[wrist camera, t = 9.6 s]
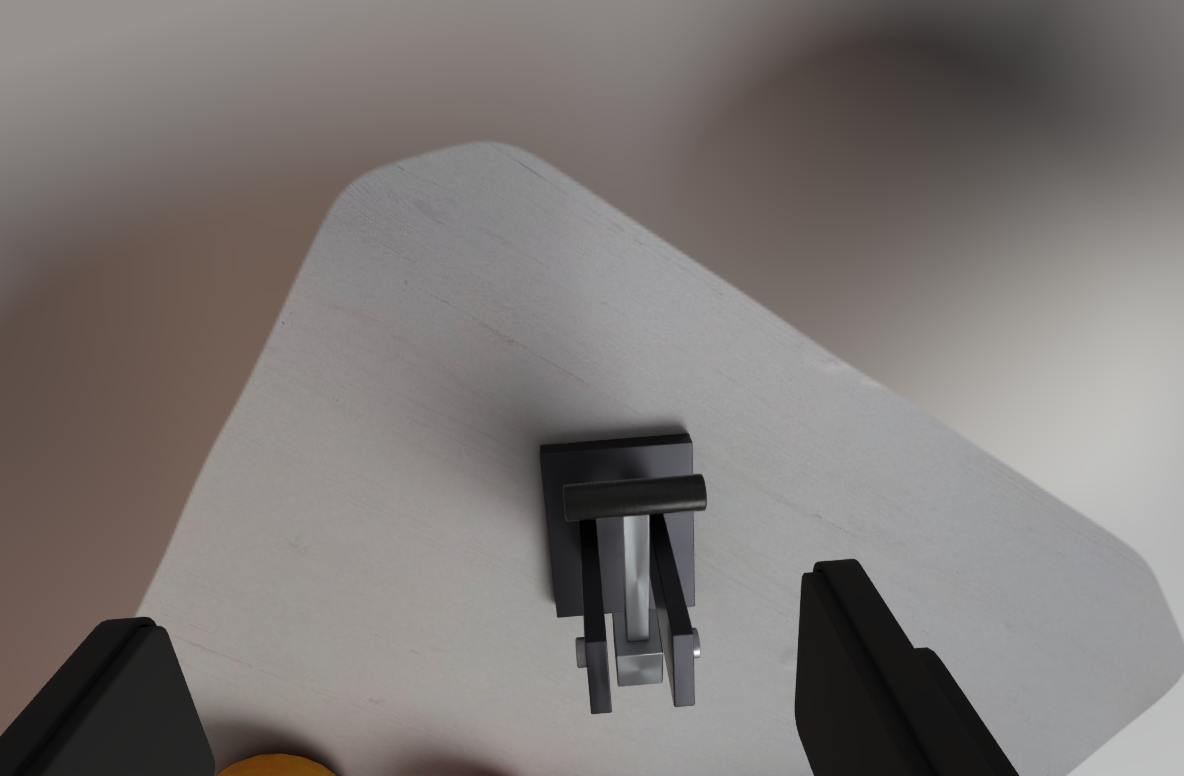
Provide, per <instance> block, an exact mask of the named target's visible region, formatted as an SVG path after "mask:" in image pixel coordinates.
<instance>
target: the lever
mask: <svg viewBox="0 0 1184 776" xmlns="http://www.w3.org/2000/svg"><path fill="white" fill-rule="evenodd" d="M563 495H564V509H565V518H566V521H581V520H593V519H606V518H618V517H620V518H621V543H622V567H623V592H624V612H613V613H612V617H613V634H614V648H615V659H616V670H617V681H618V686H631V685H643V684H655V683H662V681H663V648H662V642H661V635H660V628H659V621H658V615H657V610H656V609H650V553H649V515H655V514H667V513H680V512H692V511H704V510H705V509H706V506H707V494H706V486H705V481H704V478H703V476H702V474H691V475H679V476H666V477H654V478H641V479H629V480H616V481H604V482H591V483H579V484H566V485H564V487H563Z"/></svg>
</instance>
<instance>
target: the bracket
mask: <svg viewBox="0 0 1184 776" xmlns="http://www.w3.org/2000/svg"><path fill="white" fill-rule="evenodd" d="M540 461H541V471H542V480H543V489H544V499H545V508H546V517H547V527H548V536H549V545H550V555H551V564H552V573H553V583H554V592H555V601H556V611H557V617H558V618H559V617H571V616H583V615H584V636H585V637H578V638H576V658H577V667H578V668H583V667H587V673H588V684H589V695H590V706H591V714H600V713H611V712H612V706H611V693H610V680H609V666H608V653H607V640H606V628H605V617H604V614H607V613H613V612H624V592H623V567H622V543H621V518H620V517H618V518H606V519H593V520H581V521H566V518H565V509H564V495H563V487H564V485H566V484H579V483H591V482H604V481H616V480H629V479H641V478H654V477H666V476H679V475H691V474H693V452H692V440H691V438H690V435H689V434H677V435H664V436H651V437H639V438H626V439H613V440H601V441H588V442H576V443H563V444H550V445H541V446H540ZM649 553H650V609H656V610H657V615H658V621H659V628H660V634H661V639H662V644H663V650H664V655H665V660H666V666H667V671H668V676H669V682H670V687H671V692H672V698H673V703H674V706H675V707H681V706H693V705H694V704H695V695H694V658H699V657H700V641H699V635H698V631H697V629H696V628H692V626H691V622H690V618H689V614H688V610H687V607H692V606H695V583H694V518H693V511H692V512H680V513H667V514H655V515H649Z"/></svg>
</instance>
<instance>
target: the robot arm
mask: <svg viewBox="0 0 1184 776" xmlns="http://www.w3.org/2000/svg"><path fill="white" fill-rule="evenodd" d="M795 720H796V726H797V730H798V733H799V736H800V739H801V742H802V745H803V747H804V750H805V753H806V755H807V758H808V761H809V763H810V766H811V769H812V771H813V774H814V776H1019V775H1018V773H1017V772H1016V770H1015V769H1014V767H1013V766H1012V764H1011V763H1010V761H1009V760H1008V758H1007V757H1006V755H1005V754H1004V752H1003V751H1002V749H1001V748H1000V746H999V745H998V743H997V742H996V740H995V739H994V738H993V736H992V735H991V733H990V732H989V730H988V729H987V727H986V726H985V724H984V723H983V721H982V720H981V718H980V717H979V715H978V714H977V712H976V711H975V709H974V708H973V706H972V705H971V703H970V702H969V701H968V699H967V698H966V696H965V695H964V693H963V692H962V690H961V689H960V687H959V686H958V684H957V683H956V681H955V680H954V678H953V677H952V675H951V674H950V672H949V671H948V669H947V668H946V666H945V665H944V664H943V662H942V661H941V659H940V658H939V657H938V656H937V655H936V653H935V652H934V651H932V650H931V649H929V648H927V647H926V648H914V647H913V645H912V644H911V642H910V641H909V639H908V638H907V636H906V635H905V633H904V631H903V630H902V628H901V627H900V625H899V624H898V622H897V621H896V619H895V617H894V616H893V614H892V613H891V611H890V610H889V608H888V607H887V605H886V603H885V602H884V600H883V599H882V597H881V596H880V594H879V592H878V591H877V589H876V588H875V586H874V585H873V583H872V582H871V580H870V578H869V577H868V575H867V574H866V572H865V571H864V569H863V568H862V566H861V564H860V563H859V562H858V561H857V560H855V559H845V560H833V561H821V562H816V563H815V565H814V568H813V572H810V573H804V574H803V576H802V581H801V599H800V618H799V636H798V654H797V673H796V691H795ZM214 770H215V761H214V757H213V754H212V751H211V748H210V746H209V743H208V740H207V738H206V735H205V732H204V730H203V727H202V724H201V721H200V719H199V716H198V713H197V711H196V708H195V705H194V703H193V700H192V697H191V694H190V692H189V689H188V686H187V684H186V681H185V678H184V676H183V673H182V670H181V667H180V665H179V662H178V659H177V657H176V654H175V651H174V649H173V646H172V643H171V640H170V638H169V635H168V633H167V631H166V629H165V628H163V627H162V626H157V625H156V623H155V621H153V620H152V619H151V618H149V617H136V618H124V619H112V620H106V621H103V622H101V623H100V624H99V625H98V626H96V627H95V628H94V630H93V631H92V632H91V633H90V634H89V635H88V637H87V638H86V639H85V640H84V641H83V642H82V643H81V644H80V646H79V647H78V648H77V649H76V650H75V651H74V653H73V654H72V655H71V656H70V657H69V659H67V661H66V662H65V663H64V664H63V665H62V666H61V667H60V669H59V670H58V671H57V672H56V673H55V674H54V675H53V677H52V678H51V679H50V680H49V681H48V682H47V683H46V685H45V686H44V687H43V688H42V689H41V690H40V691H39V693H38V694H37V695H36V696H35V697H34V698H33V700H32V701H31V702H30V703H29V704H28V705H27V707H26V708H25V709H24V710H23V711H22V712H21V713H20V714H19V716H18V717H17V718H16V719H15V720H14V721H13V722H12V724H11V725H10V726H9V727H8V728H7V729H6V731H5V732H4V733H3V734H2V735H1V736H0V776H214Z"/></svg>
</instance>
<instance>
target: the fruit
mask: <svg viewBox="0 0 1184 776" xmlns="http://www.w3.org/2000/svg"><path fill="white" fill-rule="evenodd" d="M216 776H337V775H335V774H334V773H332V772H331V771H330V770H328V769H327V768H326V767H324V766H323V765H321V764H319V763H316V762H314V761H311V760H309V759H306V758H304V757H300V756H294V755H287V754H281V753H280V754H265V755H257V756H254V757H251V758H248V759H245V760H242V761H239V762H236V763H233V764H231V765H230V766H229V767H227V768H226V769H224V770H223V771H222V772H220V773H219V774H217V775H216Z"/></svg>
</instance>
